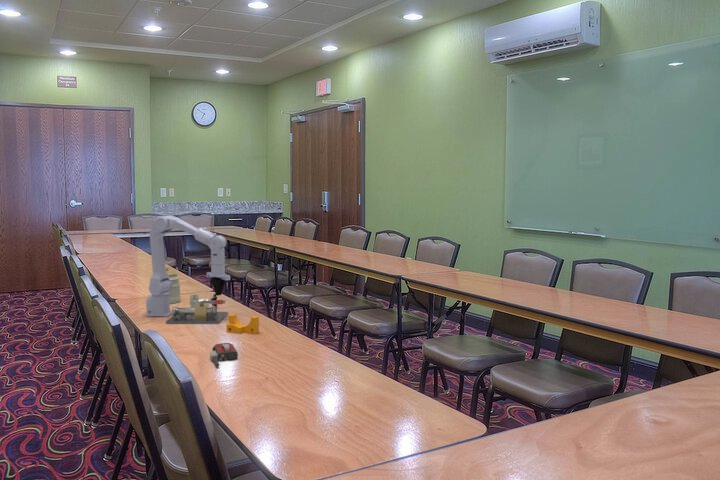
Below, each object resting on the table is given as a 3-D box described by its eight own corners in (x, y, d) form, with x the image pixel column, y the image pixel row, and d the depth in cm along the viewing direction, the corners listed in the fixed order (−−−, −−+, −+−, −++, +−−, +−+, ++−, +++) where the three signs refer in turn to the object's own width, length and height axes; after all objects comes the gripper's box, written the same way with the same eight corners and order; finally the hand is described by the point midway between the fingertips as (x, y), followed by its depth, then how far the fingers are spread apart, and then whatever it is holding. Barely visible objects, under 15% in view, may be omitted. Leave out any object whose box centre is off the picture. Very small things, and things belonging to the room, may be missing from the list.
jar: (185, 301, 290) (184, 266, 288) (161, 305, 281) (160, 268, 279) (172, 298, 299) (171, 263, 297) (147, 301, 290) (146, 266, 288)
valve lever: (199, 305, 252) (199, 300, 252) (200, 304, 254) (200, 299, 254) (224, 305, 252) (224, 300, 252) (225, 304, 254) (225, 299, 254)
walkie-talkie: (206, 352, 206) (214, 369, 187) (206, 340, 206) (214, 356, 187) (232, 350, 209) (242, 366, 191) (232, 337, 209) (242, 353, 190)
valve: (190, 311, 269) (217, 309, 274) (190, 297, 268) (217, 295, 273) (188, 308, 275) (215, 306, 280) (188, 294, 274) (214, 292, 279)
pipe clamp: (226, 332, 232) (226, 316, 232) (232, 329, 237) (232, 314, 236) (253, 335, 228) (252, 318, 228) (258, 332, 232) (258, 316, 232)
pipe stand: (165, 323, 245) (165, 309, 245) (178, 314, 263) (177, 300, 263) (219, 323, 246) (218, 309, 245) (227, 313, 264) (227, 300, 263)
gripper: (200, 263, 256) (201, 294, 258) (220, 266, 247) (221, 298, 248) (213, 261, 262) (214, 291, 263) (234, 264, 252) (234, 296, 253)
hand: (218, 295), depth 256 cm, fingers closed
